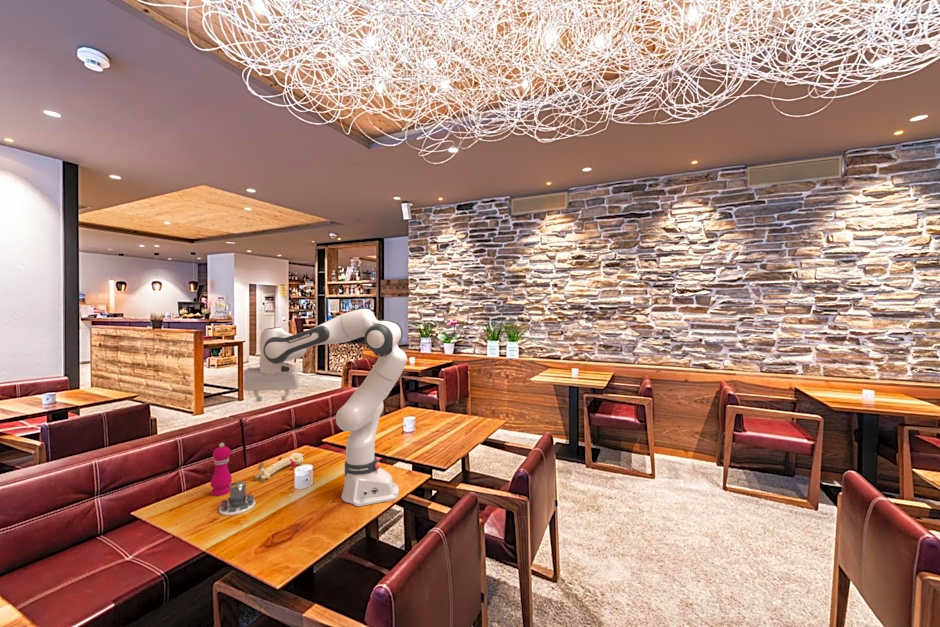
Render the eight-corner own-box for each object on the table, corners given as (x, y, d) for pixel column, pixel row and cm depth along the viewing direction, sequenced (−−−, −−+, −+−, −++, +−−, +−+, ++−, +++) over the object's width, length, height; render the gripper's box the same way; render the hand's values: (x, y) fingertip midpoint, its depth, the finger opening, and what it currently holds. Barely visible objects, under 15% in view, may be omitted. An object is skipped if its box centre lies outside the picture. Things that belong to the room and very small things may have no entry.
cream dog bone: (267, 486, 164) (310, 460, 187) (266, 466, 163) (309, 443, 186) (250, 482, 167) (295, 457, 191) (249, 463, 167) (294, 440, 190)
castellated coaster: (259, 498, 150) (259, 491, 150) (248, 513, 139) (249, 506, 139) (226, 501, 148) (227, 494, 148) (213, 516, 137) (213, 509, 137)
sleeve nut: (247, 501, 146) (247, 480, 146) (242, 507, 142) (242, 486, 142) (233, 502, 145) (233, 481, 145) (227, 509, 141) (227, 487, 141)
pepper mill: (221, 497, 151) (221, 446, 151) (205, 495, 152) (206, 445, 152) (236, 489, 158) (236, 440, 158) (221, 487, 159) (221, 439, 159)
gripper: (240, 368, 152) (240, 403, 152) (296, 367, 156) (296, 401, 156) (246, 366, 158) (246, 400, 158) (299, 365, 162) (299, 398, 162)
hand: (271, 400), depth 157 cm, fingers open, 8 cm apart
